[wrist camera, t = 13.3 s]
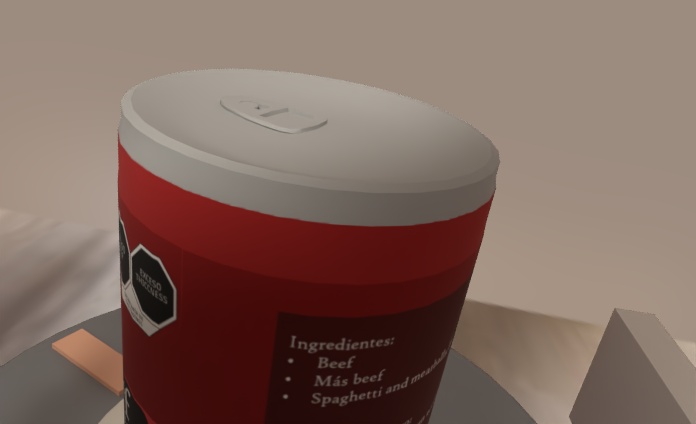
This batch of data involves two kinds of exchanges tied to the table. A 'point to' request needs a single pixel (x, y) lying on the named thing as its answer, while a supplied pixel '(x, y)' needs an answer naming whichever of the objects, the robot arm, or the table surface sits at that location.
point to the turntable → (108, 395)
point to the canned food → (292, 248)
